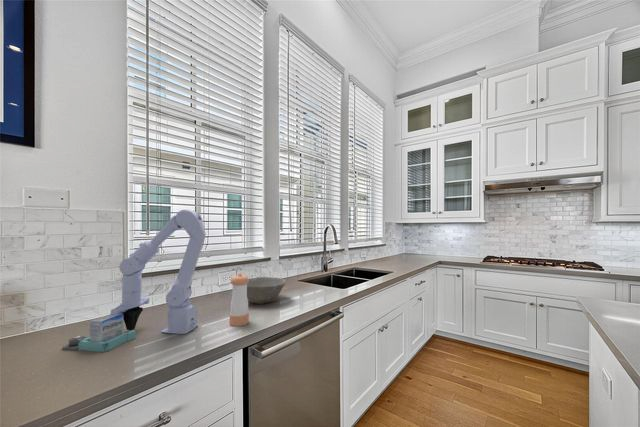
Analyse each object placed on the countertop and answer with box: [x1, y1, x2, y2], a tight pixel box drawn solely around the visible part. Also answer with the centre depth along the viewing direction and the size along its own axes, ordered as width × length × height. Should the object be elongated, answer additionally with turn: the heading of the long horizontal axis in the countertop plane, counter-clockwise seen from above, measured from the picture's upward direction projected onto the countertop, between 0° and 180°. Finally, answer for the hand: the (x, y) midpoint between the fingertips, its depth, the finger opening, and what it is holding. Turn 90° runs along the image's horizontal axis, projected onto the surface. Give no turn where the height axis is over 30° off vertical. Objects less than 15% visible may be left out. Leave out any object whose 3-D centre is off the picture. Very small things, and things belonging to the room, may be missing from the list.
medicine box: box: [88, 313, 124, 342], centre depth 87 cm, size 8×4×9 cm, turn 170°
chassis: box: [62, 329, 137, 353], centre depth 88 cm, size 16×11×3 cm
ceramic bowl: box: [247, 276, 287, 305], centre depth 135 cm, size 22×23×10 cm
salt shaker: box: [229, 273, 250, 327], centre depth 107 cm, size 7×7×19 cm
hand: (130, 329), depth 97 cm, fingers closed
